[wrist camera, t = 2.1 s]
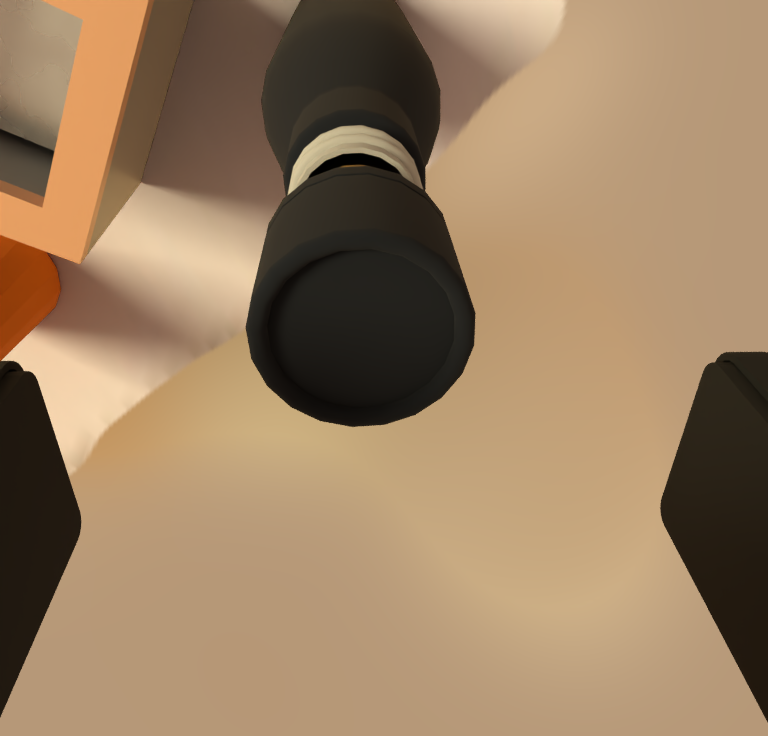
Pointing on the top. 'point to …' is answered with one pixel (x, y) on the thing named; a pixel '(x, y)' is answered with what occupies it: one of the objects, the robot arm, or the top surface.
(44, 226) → the sleeve
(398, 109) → the black water bottle
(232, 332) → the top surface
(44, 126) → the plunger plate
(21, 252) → the spray bottle
